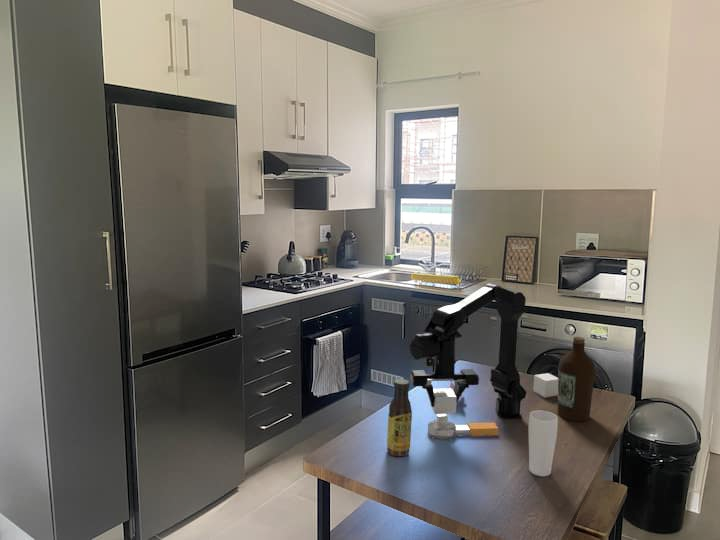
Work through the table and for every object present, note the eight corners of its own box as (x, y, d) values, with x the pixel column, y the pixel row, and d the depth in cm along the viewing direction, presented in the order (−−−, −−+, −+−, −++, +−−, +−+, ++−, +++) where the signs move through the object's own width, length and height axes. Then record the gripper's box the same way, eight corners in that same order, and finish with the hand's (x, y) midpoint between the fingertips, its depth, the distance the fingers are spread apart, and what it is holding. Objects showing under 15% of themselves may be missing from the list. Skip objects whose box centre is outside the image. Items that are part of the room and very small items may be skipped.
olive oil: (573, 406, 174) (579, 332, 170) (599, 419, 164) (606, 341, 160) (547, 411, 170) (553, 335, 166) (572, 425, 160) (579, 345, 156)
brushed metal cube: (450, 404, 156) (451, 388, 155) (455, 413, 150) (456, 396, 149) (430, 405, 156) (431, 389, 155) (434, 414, 150) (435, 397, 149)
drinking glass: (553, 467, 136) (557, 412, 134) (554, 481, 130) (558, 423, 127) (526, 462, 138) (529, 408, 136) (525, 476, 132) (528, 419, 130)
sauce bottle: (394, 460, 139) (395, 387, 136) (382, 449, 145) (383, 379, 141) (415, 454, 142) (417, 383, 139) (402, 444, 148) (404, 375, 144)
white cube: (547, 389, 189) (548, 373, 188) (558, 395, 183) (560, 378, 182) (533, 391, 187) (534, 375, 186) (544, 397, 181) (545, 380, 180)
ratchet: (491, 426, 159) (492, 409, 158) (500, 438, 151) (501, 420, 151) (425, 427, 158) (425, 410, 157) (430, 440, 150) (431, 422, 149)
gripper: (469, 344, 159) (467, 394, 162) (407, 345, 158) (406, 395, 160) (480, 356, 148) (478, 409, 151) (414, 357, 147) (412, 411, 149)
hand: (443, 405), depth 153 cm, fingers closed on brushed metal cube, 6 cm apart
